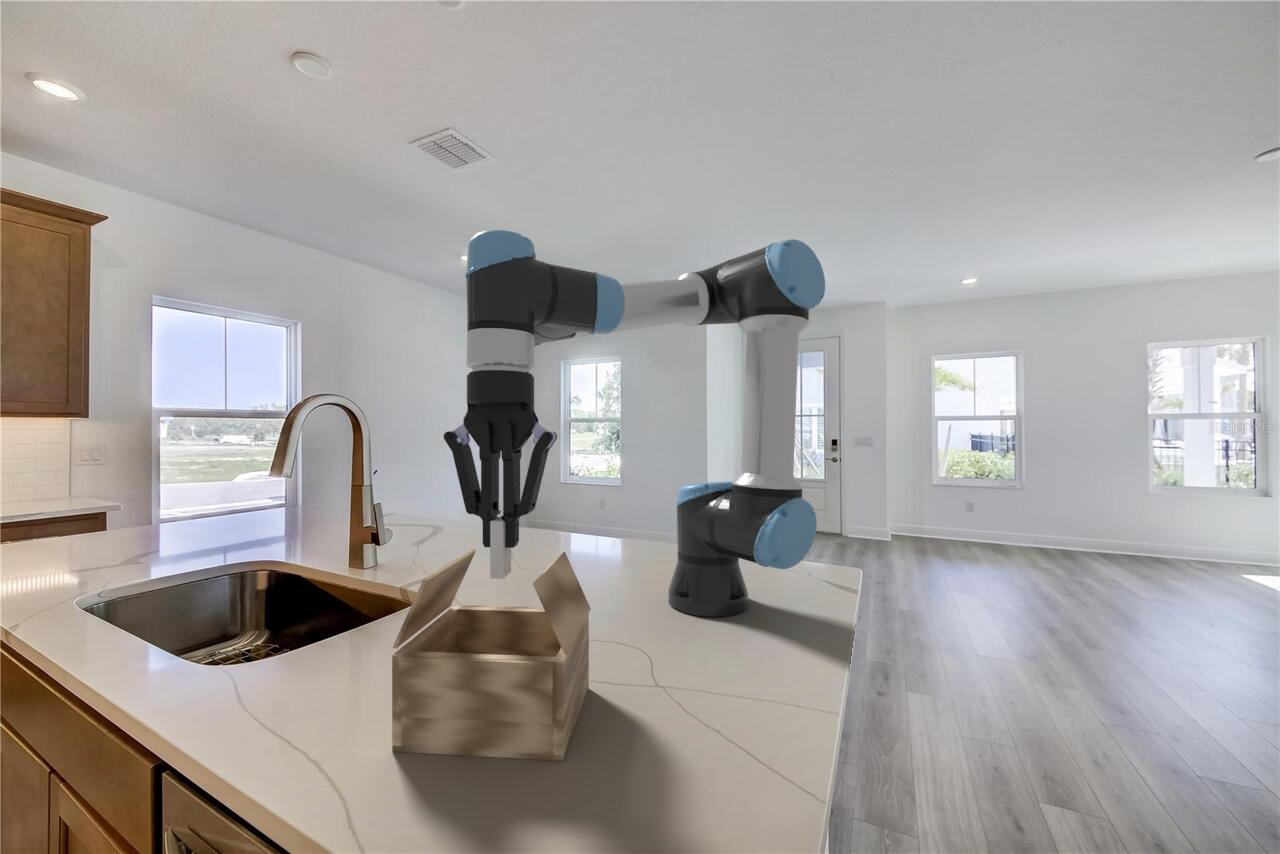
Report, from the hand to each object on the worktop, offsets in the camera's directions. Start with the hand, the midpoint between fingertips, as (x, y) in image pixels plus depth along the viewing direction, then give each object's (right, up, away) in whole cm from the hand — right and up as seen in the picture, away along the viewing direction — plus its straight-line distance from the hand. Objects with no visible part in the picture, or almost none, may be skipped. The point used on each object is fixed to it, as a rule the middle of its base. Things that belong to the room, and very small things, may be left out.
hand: (500, 574), depth 58 cm
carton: (0, -16, 0) cm, 16 cm away
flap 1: (-7, -2, +1) cm, 8 cm away
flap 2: (+7, -2, -1) cm, 8 cm away
